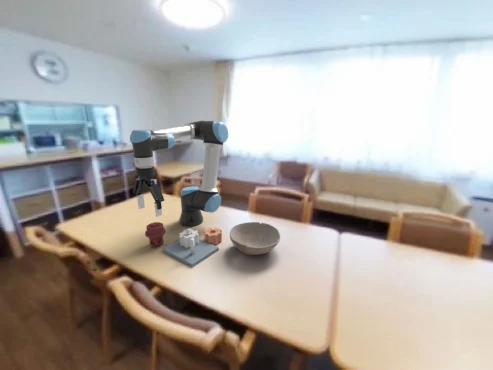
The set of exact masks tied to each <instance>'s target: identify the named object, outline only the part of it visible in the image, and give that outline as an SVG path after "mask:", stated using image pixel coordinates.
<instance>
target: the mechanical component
mask: <svg viewBox="0 0 493 370" xmlns="http://www.w3.org/2000/svg"><path fill="white" fill-rule="evenodd" d="M145 228H146V230H145V232H144V234H145V237H147V238H148V239H149V242H148V243H149V245H150V246H151V247H152V248H153V249H155V248H157V247H159V246H160V245H163V244H164V235H165V234H166V233H167V231H166V228H165V227H164V223H162V222H159V221H158V222H157V221H155V222H151V223H148V224H147V225H146V227H145Z"/></svg>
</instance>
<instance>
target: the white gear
mask: <svg viewBox="0 0 493 370" xmlns="http://www.w3.org/2000/svg"><path fill="white" fill-rule="evenodd" d="M190 229H191V235H187V229H184V230H183V231H182V232H179V233H178V235H179V240H180V246H185V248H188V247H190V239H191V238H194V246H195V245H196V244H198V243H199V239H200V238H199V231H198V230H197V229H196V230H193V228H190Z"/></svg>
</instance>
